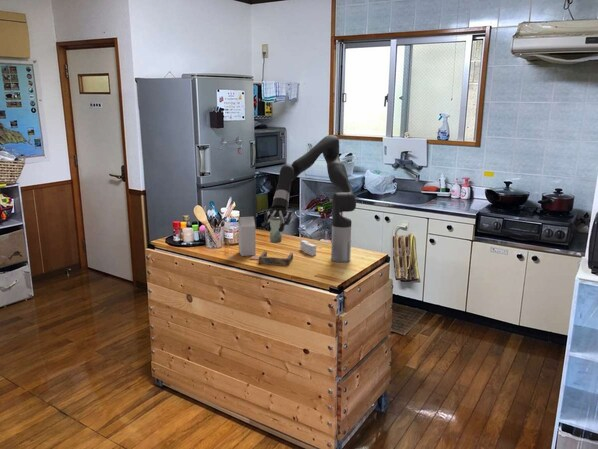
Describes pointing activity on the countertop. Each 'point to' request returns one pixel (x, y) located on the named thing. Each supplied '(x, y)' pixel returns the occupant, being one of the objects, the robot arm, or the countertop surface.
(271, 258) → the dock
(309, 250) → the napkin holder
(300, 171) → the robot arm
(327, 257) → the countertop surface
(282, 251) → the countertop surface
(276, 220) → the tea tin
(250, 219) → the milk carton
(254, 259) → the terracotta tag
